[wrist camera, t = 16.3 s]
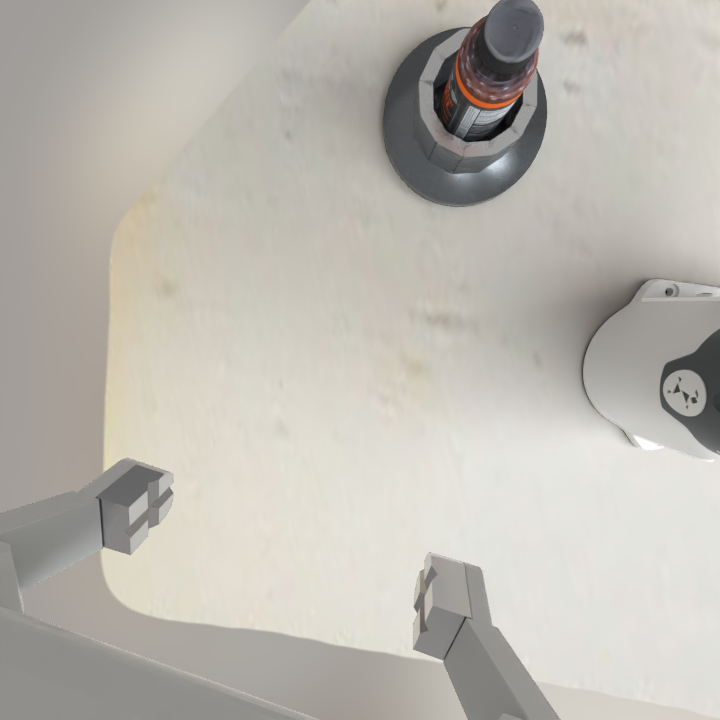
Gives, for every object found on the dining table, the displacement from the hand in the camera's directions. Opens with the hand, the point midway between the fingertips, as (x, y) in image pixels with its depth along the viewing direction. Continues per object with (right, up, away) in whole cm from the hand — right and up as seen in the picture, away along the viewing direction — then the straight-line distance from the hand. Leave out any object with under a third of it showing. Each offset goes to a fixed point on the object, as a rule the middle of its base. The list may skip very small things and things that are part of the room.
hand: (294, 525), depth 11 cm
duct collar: (+12, +29, +25) cm, 40 cm away
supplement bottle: (+12, +29, +24) cm, 39 cm away
